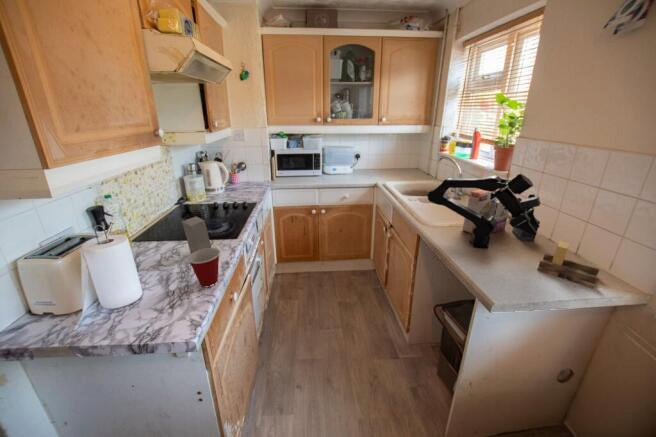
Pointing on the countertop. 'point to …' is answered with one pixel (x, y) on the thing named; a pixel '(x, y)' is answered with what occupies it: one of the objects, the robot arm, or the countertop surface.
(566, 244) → the block
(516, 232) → the small box
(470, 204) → the cracker box
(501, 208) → the candy bar box
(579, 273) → the board
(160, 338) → the countertop surface
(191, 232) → the skincare box
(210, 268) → the plastic cup
